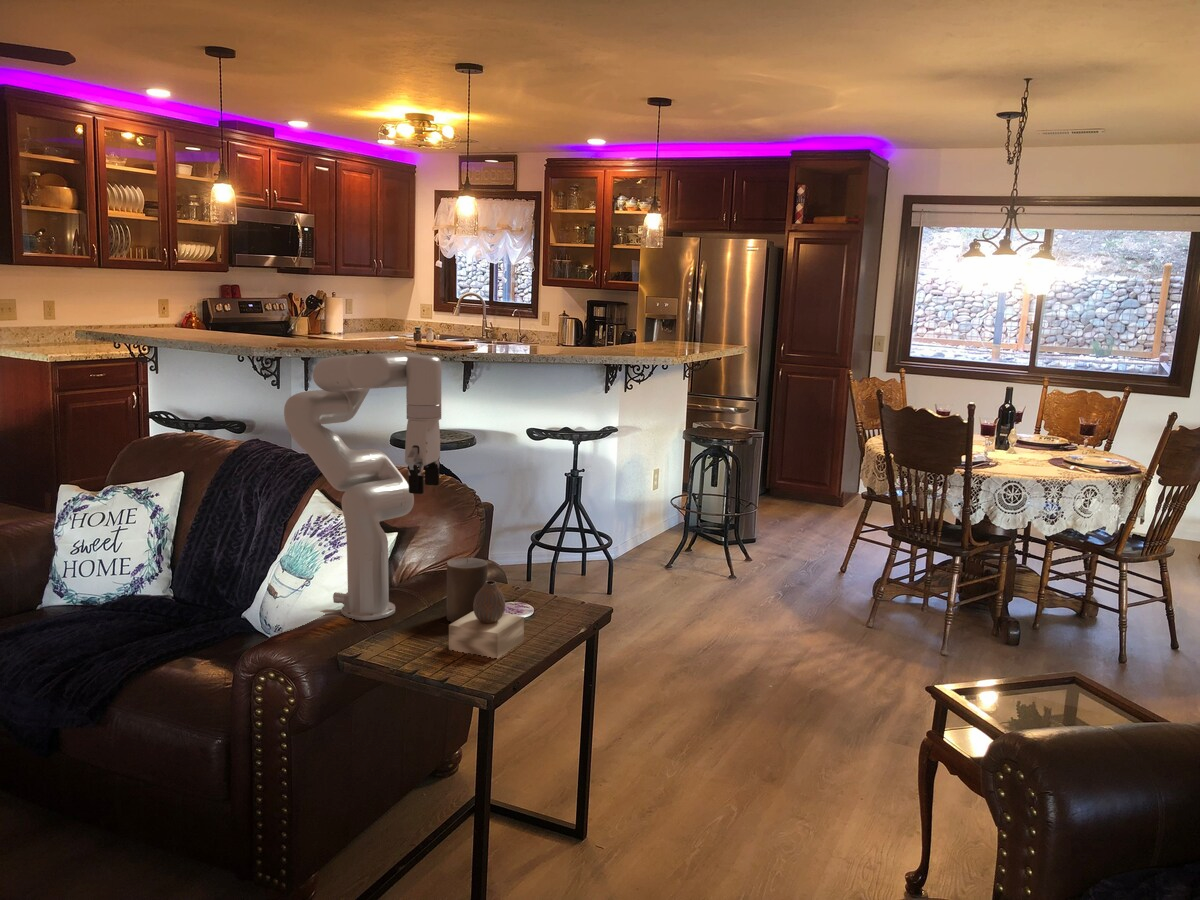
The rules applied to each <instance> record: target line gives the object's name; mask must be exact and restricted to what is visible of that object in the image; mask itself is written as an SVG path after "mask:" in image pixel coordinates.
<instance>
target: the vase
mask: <svg viewBox="0 0 1200 900" xmlns="http://www.w3.org/2000/svg"><path fill="white" fill-rule="evenodd" d="M473 609H474V614H475V616H476V618H477V619H478V620H479V621H480V622H482V623H487V624H491V623H495V622H497V621H498V620H499V619H500V618H501V617H502V616H503V613H504V614H505V610H506V598H505V595H504V593H503V592H502V591H501V589H500V588H499V586H498V583H497V582H496V581H495V580H488V581H486V582H485V583H484V585H483V587H482V588H481V589H480V590H479V591H478V592H477V594H476V596H475V598H474V602H473Z"/></svg>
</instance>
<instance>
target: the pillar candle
mask: <svg viewBox="0 0 1200 900" xmlns="http://www.w3.org/2000/svg"><path fill="white" fill-rule="evenodd" d="M488 568H489V567H488V561H486V559H482V558H477V557H463V558H462V557H459V558H454V559H451V560H448V561H447V562H446V612H445V613H446V620H447V621H448V622H449V621H450V623H453V622H455V621H457V620H458V619H460V618H462V617H464V616H465V615H467V614H469V613H471V612H473V611H474V609H473V602H474V598H475V596H476V594H477V592H478V591H479V590H480V589H481V588H482V587H483V585H484V583H485V582H486V581H489V580H488V578H489V577H488Z"/></svg>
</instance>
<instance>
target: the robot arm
mask: <svg viewBox="0 0 1200 900" xmlns="http://www.w3.org/2000/svg"><path fill="white" fill-rule="evenodd" d="M312 379H313V381H314V383H315V385H316V386H317V387H318V388H320V390H319V389H318V390H307V391H302V392H299V393H295V394H293V395H291V396H290V397H289V398H288V399H287V400H286V402H285V404H284V408H283V416H284V422H285V425H286V428H287V431H288V433H289V434H290V436H291V438H292V439H293V440H294V441H295V443H296V444H297V445H298V446H299V447H300V448H301V449H302V450H303V451H304V452H305V453H306V454H307V455H308V456H309V457H310V459H312V461H313V463H314V464H315V466H316V467H317V468H318V470H319V471H320V472H321V473H322V475H323V477H325V479H326V480H327V482H328V483H329V484H330V485H331V488H333V489H335V490H336V491H339V492H343V494H342V498H341V511H342V515H343V519H344V524H345V533H346V565H347V566H346V567H347V570H346V571H347V574H346V575H347V592H346V593H343V592H333V595H332V600H333V603H334V604H342V605H343V606H342V607H341V615H342V614H343V615H344V616H347V617H349V618H352V619H351V620H353V619H355V620H354V621H376V620H381V619H384V618H385V619H386V618H388V617H390V616H393V615H394V614H395V613H396V605H395V603H393V602H390V600H389V599H390V597H389V595H390V593H389V590H390V589H389V583H390V582H389V541H388V535H387V534H386V532H385V530H384V529H383V528H382V527H381V524H380V522H383V521H388V520H392V519H397V518H400V517H403V516H406V515H407V514H409V513H410V512H411V511H412V509H413V507H414V504H415V497H414V494H416V495H422V494H424V493H425V490H424V489H425V487H424V485H426V486H439V485H440V459H441V458H440V457H441V431H440V421H439V420H442V360H441V359H440V357H438V356H436V355H424V354H423V355H421V354H419V353H416V352H386V353H385V352H384V353H383V352H382V353H370V354H364V353H359V354H357V353H356V354H349V355H338V356H330V357H325V358H322V359H321V360H320V361H318V362H317V363H316V365H314V367H313V371H312ZM401 387H402V388H403V387H406V388H405V390H406V392H405V393H406V395H405V396H406V397H405V398H406V420H407V423H406V429H405V430H406V431H405V443H404V444H405V446H404V447H405V448H404V464H405V465H407V470H408V471H407V472H408V473H407V474H408V481H407V479H406V478H405V477H404V476H403V475H402V472H400V470H398V467H396V465H395V464H394V463H393V461H392V460H391V459H390V458H389V457H388V455H387V454H386V453H385V452H383V451H381V450H380V449H379V450H378V449H375V448H365V449H358V450H357V449H352V448H349V446H348V445H346V443H345V442H344V441H343V439H342V437H340V436H339V435H338V434H337V433H336V432H334V431H332V430H331V429H329V428H327V427H325V426H323V425H328V424H341V423H345V422H349V421H350V420H352V419H353V418H354V417H355V416H356V414H357V413H358V411H359V409H360V407H361V405H362V404H363V403H364V400H365V399H366V397H367V395H368V393H369V392H370V389H388V388H401ZM423 471H424V475H423ZM343 615H342V616H343ZM344 616H343V617H344ZM349 618H348V619H349Z"/></svg>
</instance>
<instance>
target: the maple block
mask: <svg viewBox="0 0 1200 900" xmlns="http://www.w3.org/2000/svg"><path fill="white" fill-rule="evenodd" d="M524 632H525V616H520V615H516V614H515V615H514V614H509V613H505V612H504V613H503V616H502V617H501V618H500V619H499V620H498V621H497V622H495V623H491V624H487V623H482V622H480V621H479V620H478V619H477V618H476V616H475V614H474V611H473V612H471V613H469V614H467V615H465V616H464V617H462V618H460V619H458V620H457V621H455V622H453V623H452V622H450V624H448V650H449V651H452V650H454V651H453V652H457V651H458V652H459V653H462V652H464V654H468V653H471V654H470V655H473V654H477V655H476V656H478V655H481V656H480V657H483V656H487V657H486V658H489V657H491V658H490V659H494V658H497V659H496V660H498V659H500V658H501V657H503V656H504V655H506V654H507V653H508V651H509V652H510V651H512V650H513V649H514V647H515V648H516V647H517V646H519V645H520V644H521V643H523V642H525V641H524V639H525V633H524ZM511 649H512V650H511ZM502 655H503V656H502Z"/></svg>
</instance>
